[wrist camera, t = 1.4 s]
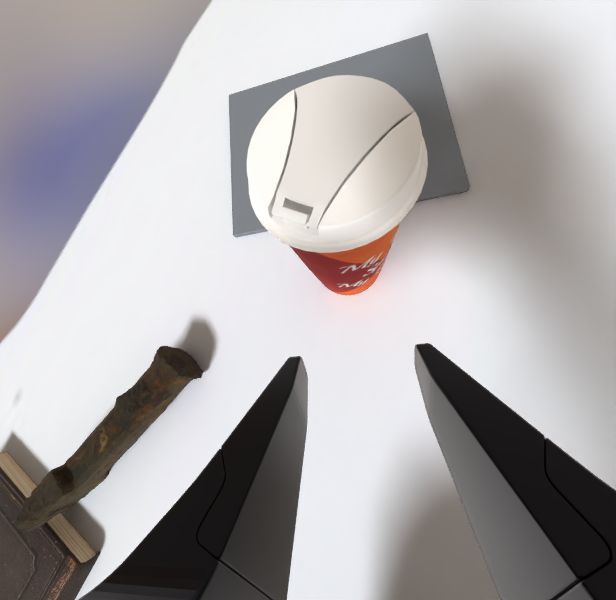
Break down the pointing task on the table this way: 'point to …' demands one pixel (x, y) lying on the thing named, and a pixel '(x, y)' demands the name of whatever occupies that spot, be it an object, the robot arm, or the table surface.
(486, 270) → the table surface
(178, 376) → the brown wooden branch
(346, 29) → the table surface
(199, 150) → the table surface
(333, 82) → the paper cup
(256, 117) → the mat
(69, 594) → the hardcover book
